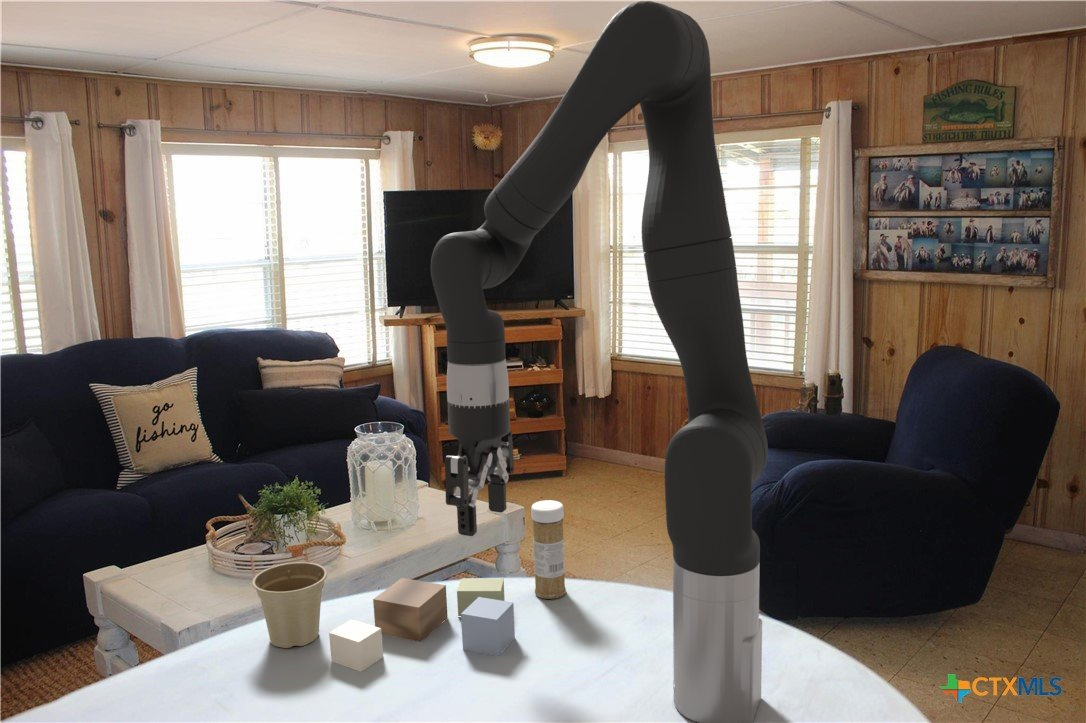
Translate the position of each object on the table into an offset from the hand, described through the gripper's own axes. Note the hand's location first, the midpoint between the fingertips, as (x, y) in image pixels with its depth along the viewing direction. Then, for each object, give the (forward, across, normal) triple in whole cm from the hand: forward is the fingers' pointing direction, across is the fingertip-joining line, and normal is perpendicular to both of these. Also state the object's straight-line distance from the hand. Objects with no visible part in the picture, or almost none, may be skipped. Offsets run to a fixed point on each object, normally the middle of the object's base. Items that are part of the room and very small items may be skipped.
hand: (483, 522), depth 112 cm
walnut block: (+17, +1, +12) cm, 21 cm away
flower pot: (+17, -7, +25) cm, 31 cm away
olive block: (+17, +8, +5) cm, 19 cm away
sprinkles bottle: (+17, +16, -2) cm, 23 cm away
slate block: (+16, 0, 0) cm, 17 cm away
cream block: (+17, -9, +14) cm, 23 cm away
